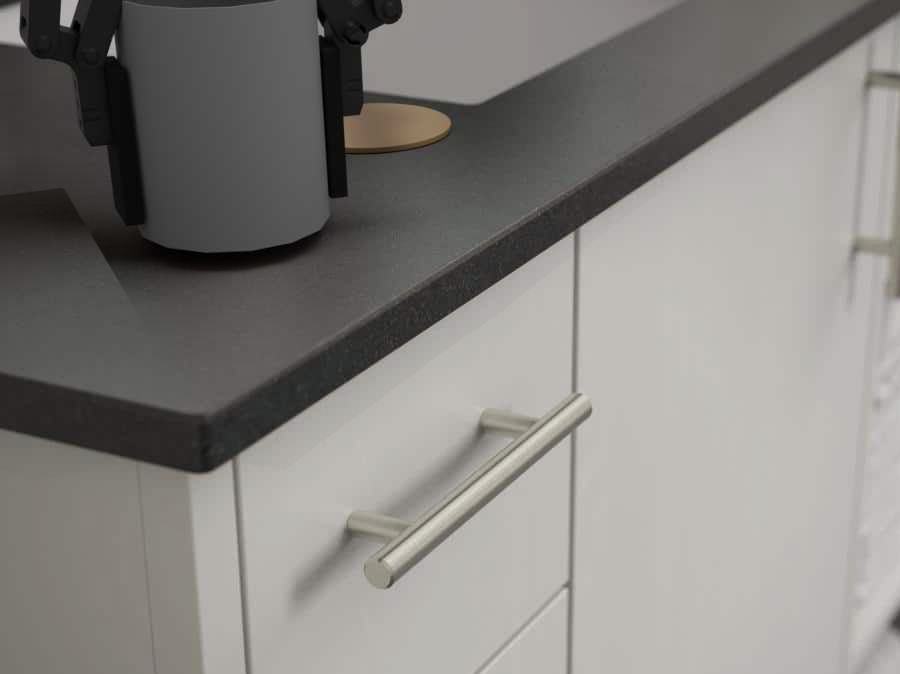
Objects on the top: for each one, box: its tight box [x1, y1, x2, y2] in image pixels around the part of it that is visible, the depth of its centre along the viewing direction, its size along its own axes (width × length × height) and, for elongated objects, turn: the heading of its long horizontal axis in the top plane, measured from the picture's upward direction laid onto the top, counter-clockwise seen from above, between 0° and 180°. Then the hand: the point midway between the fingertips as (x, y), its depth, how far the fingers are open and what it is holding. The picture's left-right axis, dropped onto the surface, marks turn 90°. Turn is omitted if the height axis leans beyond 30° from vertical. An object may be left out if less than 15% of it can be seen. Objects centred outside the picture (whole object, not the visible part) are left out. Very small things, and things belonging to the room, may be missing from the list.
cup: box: [113, 0, 331, 254], centre depth 70 cm, size 8×8×10 cm
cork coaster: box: [344, 102, 452, 154], centre depth 87 cm, size 9×9×1 cm
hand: (232, 201), depth 72 cm, fingers closed on cup, 8 cm apart
